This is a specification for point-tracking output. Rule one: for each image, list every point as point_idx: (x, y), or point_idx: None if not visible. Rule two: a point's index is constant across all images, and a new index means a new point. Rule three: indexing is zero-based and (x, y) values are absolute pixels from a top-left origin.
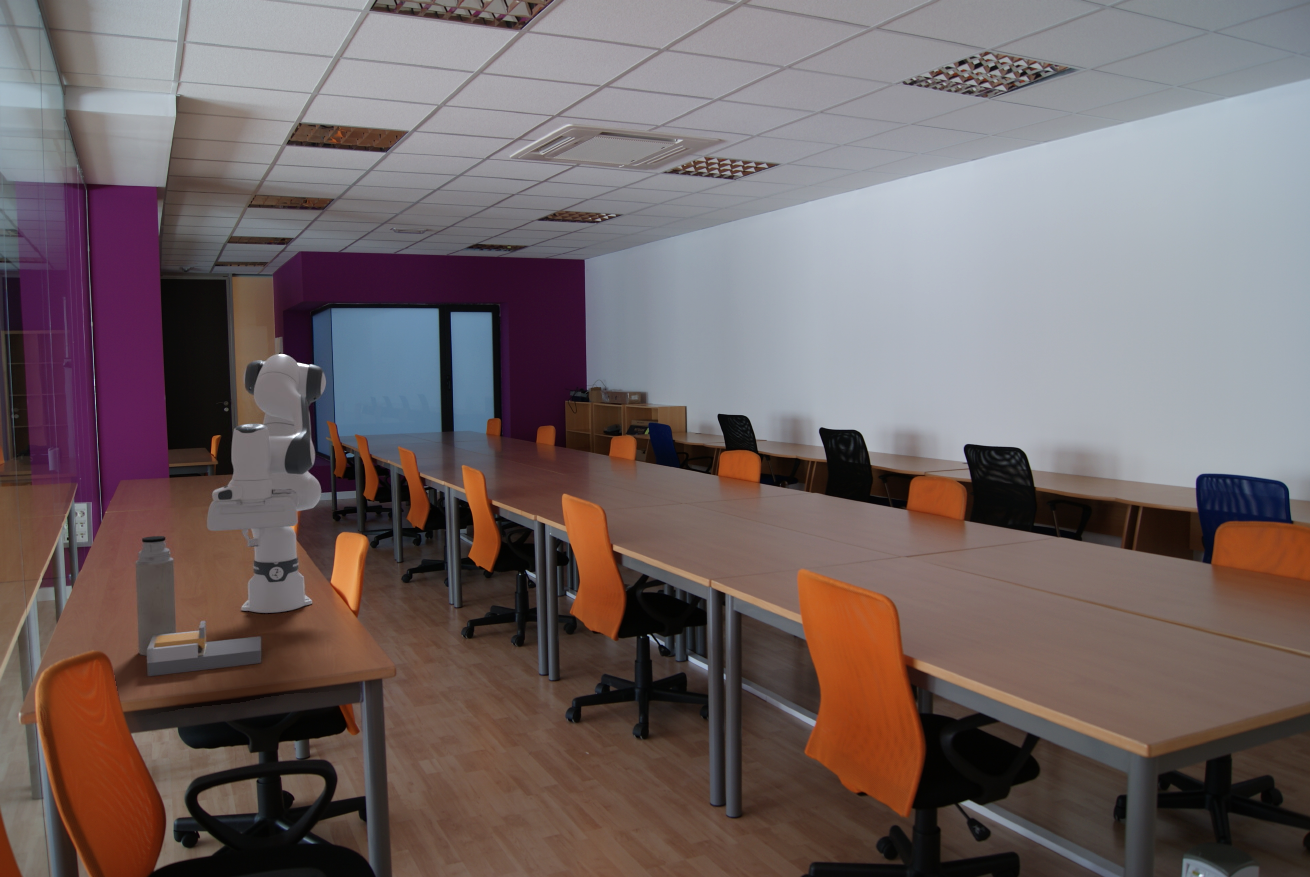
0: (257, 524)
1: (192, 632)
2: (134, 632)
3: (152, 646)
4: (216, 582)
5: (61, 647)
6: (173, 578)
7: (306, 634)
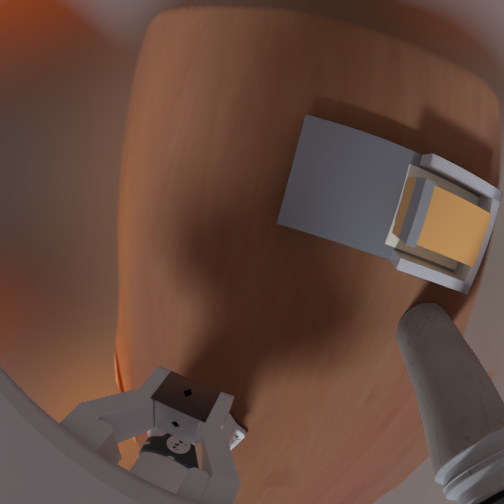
0: (74, 471)
1: (422, 246)
2: (395, 424)
3: (492, 209)
4: (242, 499)
5: None
6: (441, 415)
7: (186, 254)
